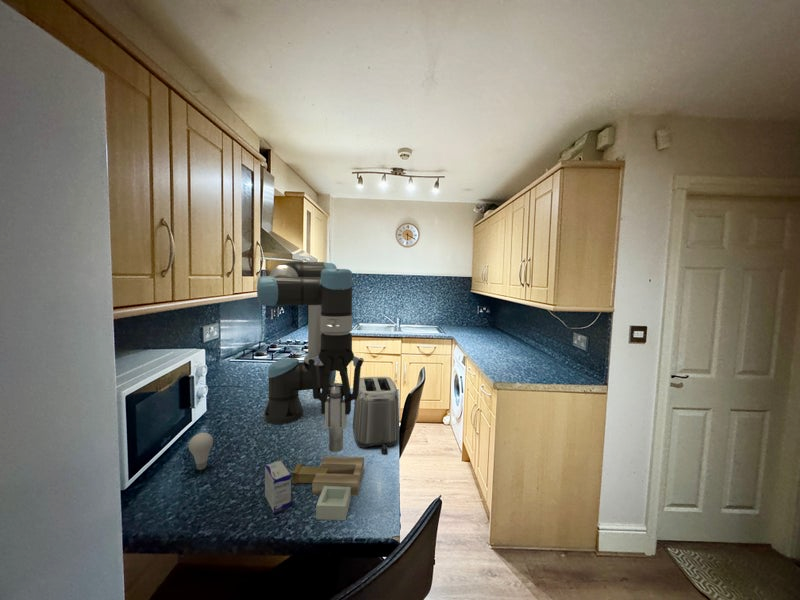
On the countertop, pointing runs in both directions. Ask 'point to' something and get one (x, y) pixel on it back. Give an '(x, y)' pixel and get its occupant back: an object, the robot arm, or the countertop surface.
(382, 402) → the toaster
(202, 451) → the lightbulb
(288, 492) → the box
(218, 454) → the countertop surface
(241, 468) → the countertop surface
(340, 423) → the grey peg
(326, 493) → the tray
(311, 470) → the yellow brown block
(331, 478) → the socket block
